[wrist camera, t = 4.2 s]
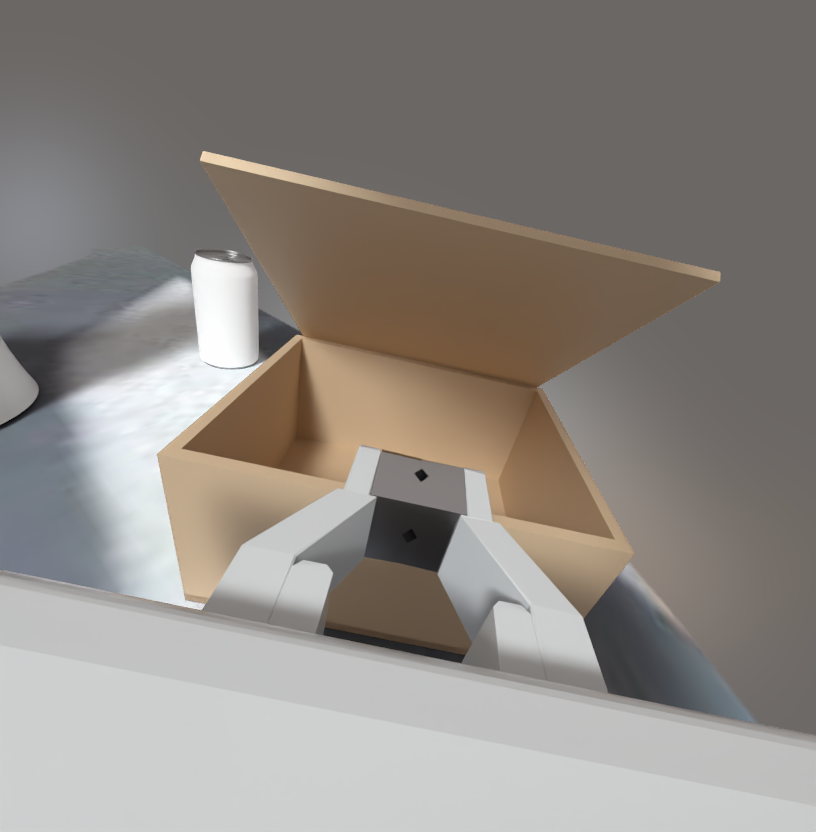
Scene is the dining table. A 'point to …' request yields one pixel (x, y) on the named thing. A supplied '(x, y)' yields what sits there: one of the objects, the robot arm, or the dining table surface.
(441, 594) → the carton
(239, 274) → the can
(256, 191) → the carton flap
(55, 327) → the dining table surface
